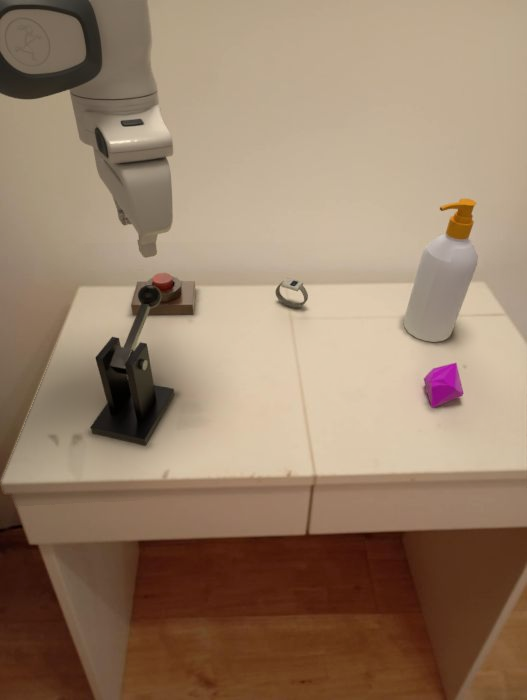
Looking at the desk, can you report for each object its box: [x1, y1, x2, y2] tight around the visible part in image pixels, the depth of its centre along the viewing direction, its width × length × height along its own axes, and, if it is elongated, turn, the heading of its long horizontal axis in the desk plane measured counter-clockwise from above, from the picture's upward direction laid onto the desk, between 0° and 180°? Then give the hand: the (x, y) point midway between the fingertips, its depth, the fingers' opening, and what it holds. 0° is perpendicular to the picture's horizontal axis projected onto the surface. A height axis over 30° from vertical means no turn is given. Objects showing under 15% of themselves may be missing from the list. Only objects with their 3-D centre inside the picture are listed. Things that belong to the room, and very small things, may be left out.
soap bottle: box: [403, 198, 479, 343], centre depth 78 cm, size 9×9×24 cm
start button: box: [151, 272, 173, 291], centre depth 86 cm, size 4×4×2 cm
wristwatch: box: [275, 277, 309, 309], centre depth 88 cm, size 6×3×5 cm, turn 64°
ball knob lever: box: [109, 285, 161, 375], centre depth 63 cm, size 13×3×3 cm, turn 166°
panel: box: [130, 275, 197, 316], centre depth 88 cm, size 11×8×4 cm
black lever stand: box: [90, 336, 175, 446], centre depth 64 cm, size 10×8×12 cm
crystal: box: [423, 362, 464, 409], centre depth 71 cm, size 5×5×5 cm
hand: (137, 237), depth 60 cm, fingers open, 8 cm apart
